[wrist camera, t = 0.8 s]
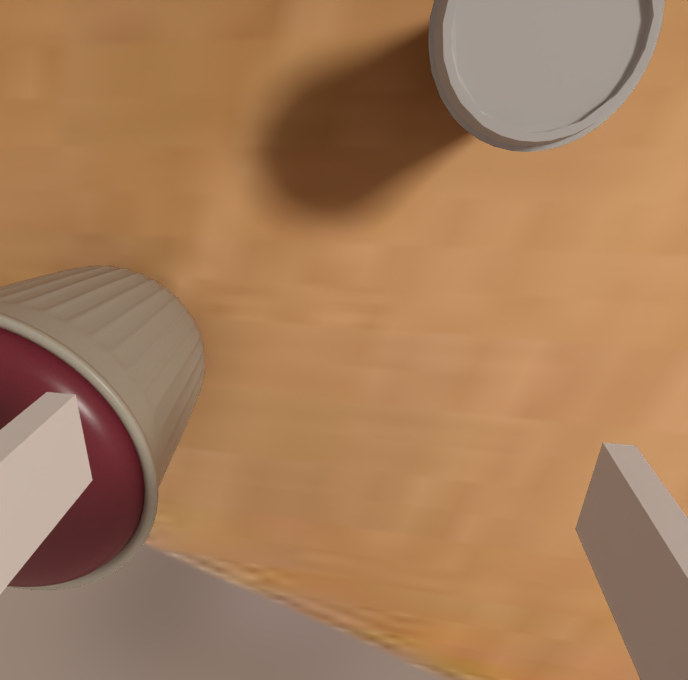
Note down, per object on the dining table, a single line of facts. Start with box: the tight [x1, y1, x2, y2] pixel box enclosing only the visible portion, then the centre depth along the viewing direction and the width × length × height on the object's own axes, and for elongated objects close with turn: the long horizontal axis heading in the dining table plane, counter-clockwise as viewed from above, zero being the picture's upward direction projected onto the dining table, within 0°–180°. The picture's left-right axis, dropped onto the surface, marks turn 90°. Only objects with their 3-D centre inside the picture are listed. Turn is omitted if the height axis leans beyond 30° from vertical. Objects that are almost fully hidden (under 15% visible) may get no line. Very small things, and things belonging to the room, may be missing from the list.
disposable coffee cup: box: [428, 0, 664, 152], centre depth 26 cm, size 10×10×12 cm
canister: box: [0, 266, 205, 590], centre depth 32 cm, size 18×18×21 cm
